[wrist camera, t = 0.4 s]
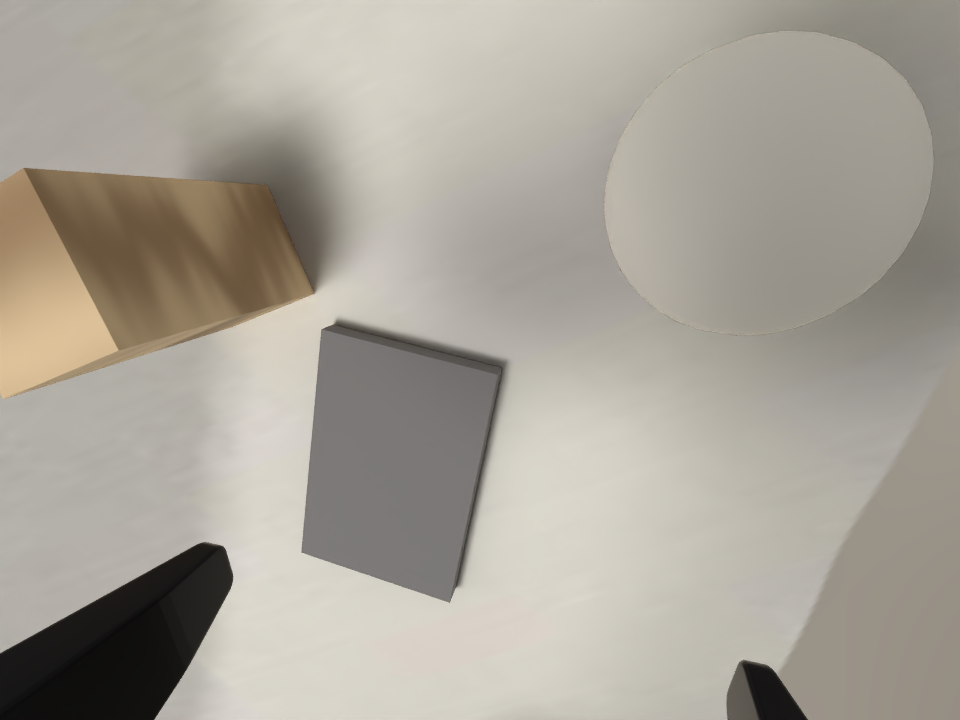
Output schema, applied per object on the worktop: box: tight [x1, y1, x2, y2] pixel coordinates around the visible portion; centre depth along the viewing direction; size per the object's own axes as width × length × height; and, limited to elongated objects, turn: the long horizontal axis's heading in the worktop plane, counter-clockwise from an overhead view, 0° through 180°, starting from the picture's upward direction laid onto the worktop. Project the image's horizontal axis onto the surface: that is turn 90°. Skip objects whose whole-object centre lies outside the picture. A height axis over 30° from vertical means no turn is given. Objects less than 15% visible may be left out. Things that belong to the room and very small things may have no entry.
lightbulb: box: [604, 31, 934, 335], centre depth 14 cm, size 6×6×11 cm
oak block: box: [0, 168, 315, 399], centre depth 19 cm, size 5×5×10 cm
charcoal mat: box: [302, 325, 502, 603], centre depth 24 cm, size 12×8×1 cm, turn 169°
